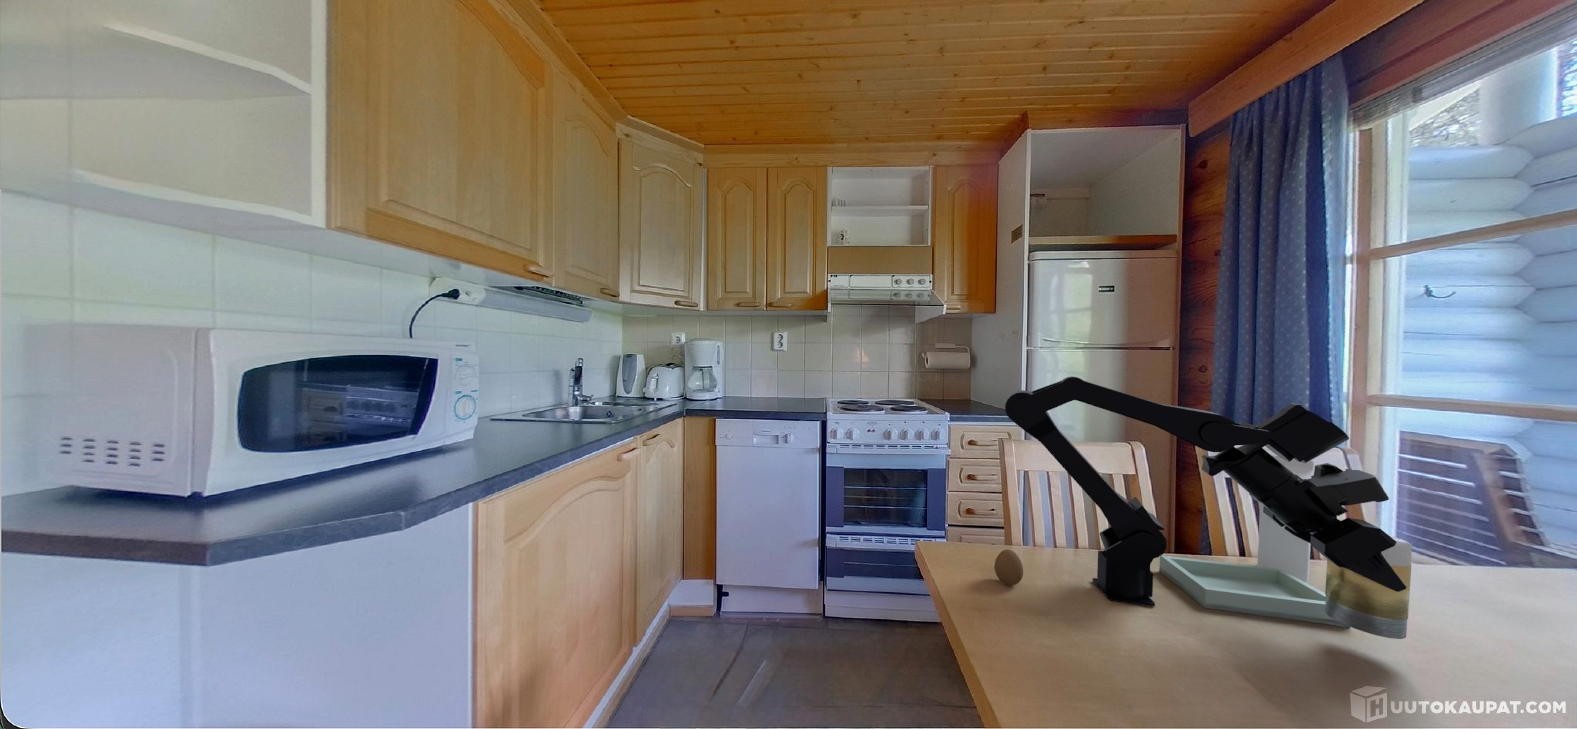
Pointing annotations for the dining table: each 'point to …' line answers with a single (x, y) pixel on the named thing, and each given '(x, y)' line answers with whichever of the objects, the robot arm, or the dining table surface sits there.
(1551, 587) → the dining table surface
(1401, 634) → the tin can
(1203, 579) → the pale green tray
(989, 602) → the dining table surface
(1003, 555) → the egg
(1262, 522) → the milk
